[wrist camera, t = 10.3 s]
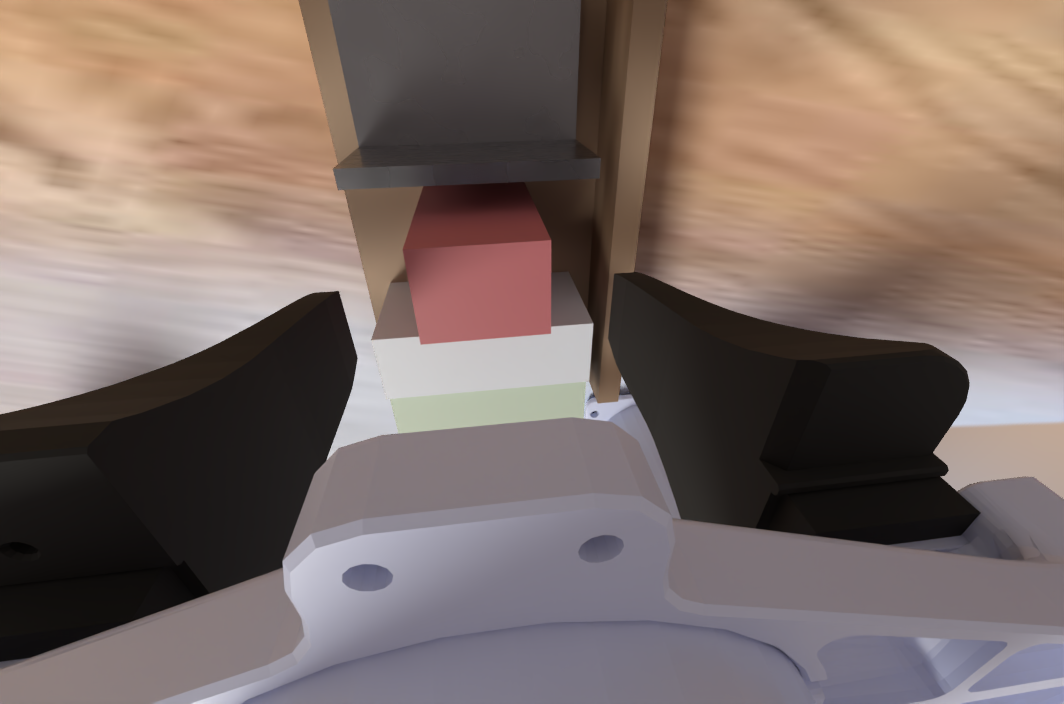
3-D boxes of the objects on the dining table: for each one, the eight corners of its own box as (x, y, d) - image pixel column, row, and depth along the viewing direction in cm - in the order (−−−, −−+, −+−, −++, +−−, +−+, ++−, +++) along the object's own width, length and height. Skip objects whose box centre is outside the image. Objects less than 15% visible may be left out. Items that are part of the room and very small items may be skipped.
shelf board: (596, 352, 25) (618, 401, 21) (393, 369, 24) (381, 423, 20) (627, -23, 16) (672, -45, 12) (303, -23, 15) (253, -47, 11)
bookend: (572, 153, 18) (599, 178, 14) (365, 161, 17) (338, 189, 13) (578, -24, 15) (615, -50, 11) (326, -24, 14) (277, -52, 10)
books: (565, 368, 23) (585, 432, 19) (410, 381, 23) (399, 450, 19) (568, 271, 20) (593, 323, 16) (390, 282, 20) (371, 340, 16)
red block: (525, 251, 20) (550, 333, 14) (434, 257, 19) (420, 344, 13) (523, 180, 18) (551, 240, 12) (423, 186, 18) (402, 249, 12)
